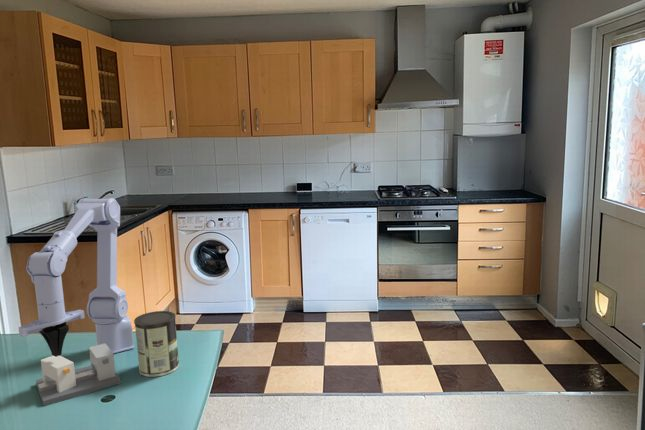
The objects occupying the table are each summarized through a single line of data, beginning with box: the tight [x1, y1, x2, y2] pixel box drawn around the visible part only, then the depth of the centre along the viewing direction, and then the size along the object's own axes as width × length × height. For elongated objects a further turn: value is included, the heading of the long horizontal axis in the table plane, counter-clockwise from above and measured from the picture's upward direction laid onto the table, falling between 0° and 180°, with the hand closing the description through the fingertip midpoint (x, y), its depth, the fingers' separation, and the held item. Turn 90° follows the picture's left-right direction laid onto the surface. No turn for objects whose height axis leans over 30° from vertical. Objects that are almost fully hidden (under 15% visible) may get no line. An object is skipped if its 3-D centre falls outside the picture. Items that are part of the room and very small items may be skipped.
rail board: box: [35, 343, 121, 407], centre depth 127 cm, size 17×13×7 cm
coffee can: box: [133, 310, 180, 378], centre depth 134 cm, size 10×10×14 cm
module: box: [40, 355, 76, 392], centre depth 125 cm, size 4×9×6 cm, turn 52°
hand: (56, 354), depth 124 cm, fingers closed
